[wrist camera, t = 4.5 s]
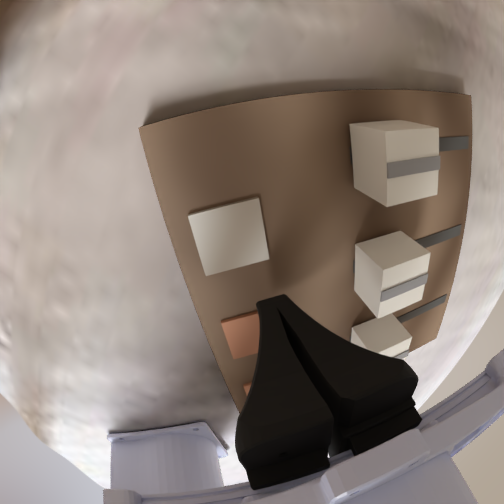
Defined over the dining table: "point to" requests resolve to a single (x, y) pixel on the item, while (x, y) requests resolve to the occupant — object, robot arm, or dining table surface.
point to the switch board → (299, 211)
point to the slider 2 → (383, 337)
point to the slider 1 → (395, 160)
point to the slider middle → (390, 272)
